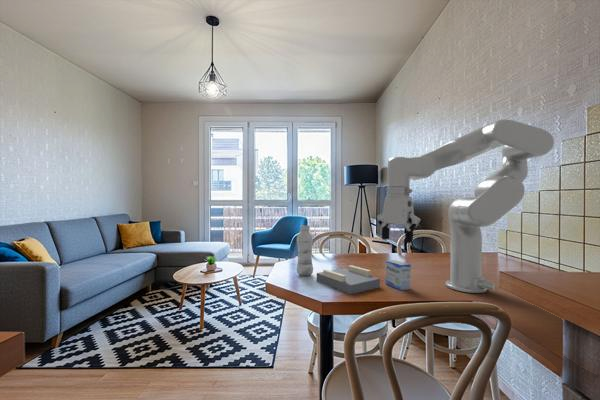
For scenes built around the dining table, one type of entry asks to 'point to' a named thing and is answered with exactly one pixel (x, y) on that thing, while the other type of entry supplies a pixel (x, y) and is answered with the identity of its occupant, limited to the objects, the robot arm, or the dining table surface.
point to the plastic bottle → (304, 251)
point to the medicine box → (398, 274)
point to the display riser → (349, 279)
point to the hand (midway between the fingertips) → (396, 240)
